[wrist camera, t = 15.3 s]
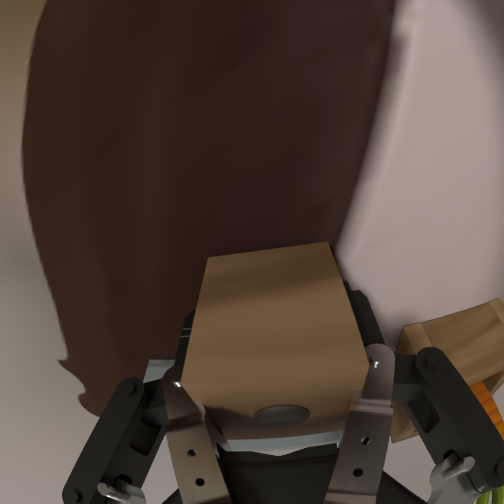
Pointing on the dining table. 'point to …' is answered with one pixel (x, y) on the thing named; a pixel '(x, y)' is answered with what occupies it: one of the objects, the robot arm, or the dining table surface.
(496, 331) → the wooden crate
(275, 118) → the dining table surface
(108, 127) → the dining table surface
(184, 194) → the dining table surface
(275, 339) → the walnut block
